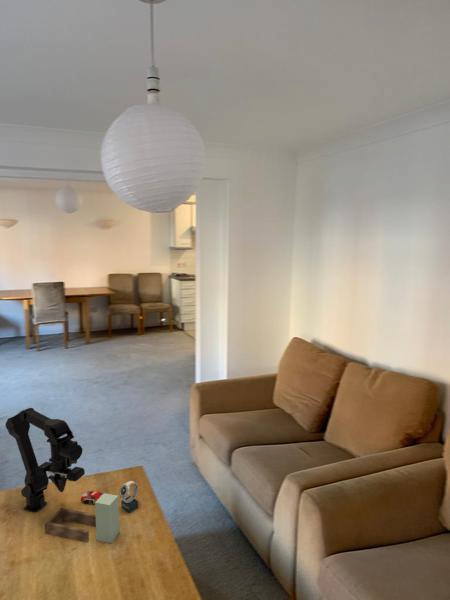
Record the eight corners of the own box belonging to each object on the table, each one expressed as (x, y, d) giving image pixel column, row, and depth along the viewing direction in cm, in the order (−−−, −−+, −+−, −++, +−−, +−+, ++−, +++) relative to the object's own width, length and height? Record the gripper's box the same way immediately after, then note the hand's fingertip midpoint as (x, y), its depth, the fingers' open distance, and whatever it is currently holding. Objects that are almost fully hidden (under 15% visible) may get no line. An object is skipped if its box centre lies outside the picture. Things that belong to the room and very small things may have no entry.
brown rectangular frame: (45, 533, 161) (44, 523, 160) (61, 517, 171) (61, 507, 170) (87, 542, 156) (86, 532, 156) (101, 525, 166) (101, 515, 165)
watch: (117, 509, 176) (116, 484, 174) (133, 500, 182) (132, 476, 180) (125, 515, 172) (125, 489, 171) (141, 506, 178) (141, 481, 177)
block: (96, 540, 157) (95, 502, 155) (105, 529, 163) (103, 493, 161) (110, 543, 156) (109, 505, 154) (119, 532, 161) (118, 495, 160)
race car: (114, 500, 182) (113, 491, 182) (107, 508, 177) (107, 499, 176) (86, 496, 185) (85, 487, 185) (79, 503, 180) (78, 494, 179)
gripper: (92, 447, 170) (94, 484, 172) (53, 441, 176) (56, 477, 178) (74, 461, 160) (76, 500, 162) (33, 454, 166) (36, 492, 168)
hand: (61, 491), depth 168 cm, fingers closed
